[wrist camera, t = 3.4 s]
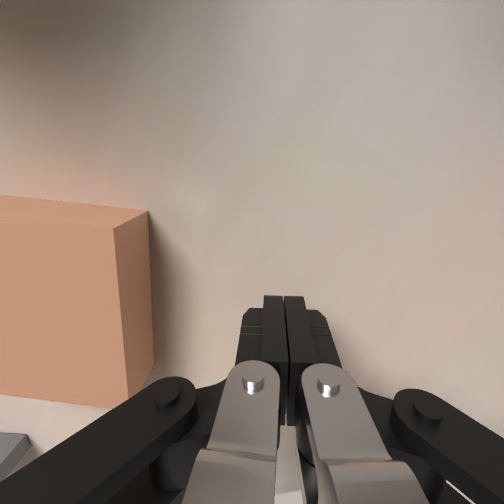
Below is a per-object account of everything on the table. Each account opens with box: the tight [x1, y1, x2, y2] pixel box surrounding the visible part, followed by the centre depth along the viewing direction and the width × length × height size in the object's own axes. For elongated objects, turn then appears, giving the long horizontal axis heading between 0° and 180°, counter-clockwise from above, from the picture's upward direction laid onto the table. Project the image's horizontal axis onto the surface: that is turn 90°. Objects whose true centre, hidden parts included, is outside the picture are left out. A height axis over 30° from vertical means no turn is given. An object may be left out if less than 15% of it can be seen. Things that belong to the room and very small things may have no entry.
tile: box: [0, 196, 154, 409], centre depth 12 cm, size 6×8×3 cm
